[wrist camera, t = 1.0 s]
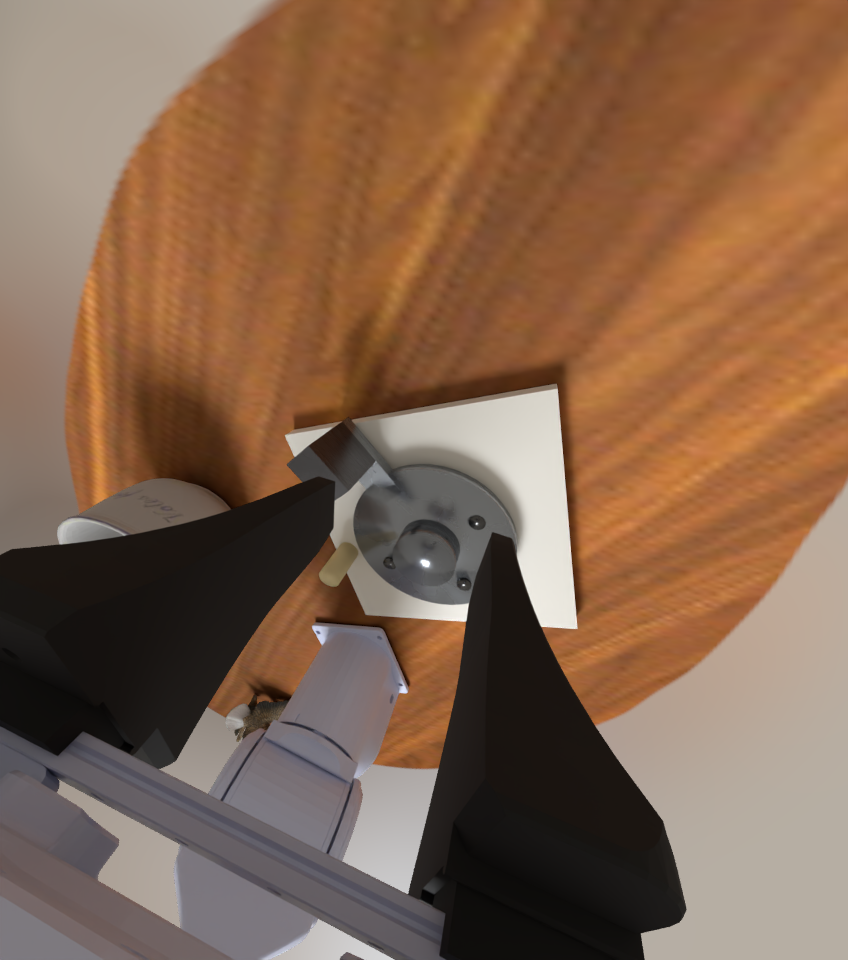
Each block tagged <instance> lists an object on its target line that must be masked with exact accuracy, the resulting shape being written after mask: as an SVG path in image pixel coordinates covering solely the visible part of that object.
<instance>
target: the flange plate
mask: <svg viewBox="0 0 848 960" xmlns="http://www.w3.org/2000/svg"><path fill="white" fill-rule="evenodd" d="M287 466H288V467H289V468H290V469H291V470H292V471H293V472H294V473H295V474H296V475H297V477H298V478H299V479H300V480H301V481H302V482H305V481H307V480H310V479H312V478H315V477H318V476H320V477H323V478H326V479H329V480H332V481H335V500H337V499H338V498H340V497H341V496H343V495H344V494H345V493H347V492H348V491H349V490H350V489H351V488H352V487H353V486H354V485H355V484H356V483H357V482H358V481H359V482H360V483H361V484H362V485H363V486H364V488H365V489H366V490H365V491H364V493H363V494H362V495H361V497H360V499H359V500H358V503H357V505H356V508H355V512H354V517H353V527H354V534H355V538H356V542H357V544H358V547H359V549H360V551H361V553H362V555H363V557H364V558H365V560H366V561H367V562H368V564H369V565H370V566H371V567H372V569H373V570H374V571H375V572H376V573H377V574H378V575H379V576H380V577H381V578H383V579H384V580H385V581H386V582H388V583H389V584H390V585H392V586H393V587H395V588H396V589H398V590H400V591H402V592H404V593H405V594H408V595H410V596H412V597H415V598H418V599H420V600H423V601H427V602H431V603H437V604H445V605H461V604H468V603H469V602H470V597H471V593H472V589H473V585H474V581H475V577H476V574H477V572H478V569H479V566H480V564H481V561H482V558H483V556H484V553H485V550H486V547H487V545H488V542H489V539H490V537H491V534H492V532H494V533H497V534H500V535H504V536H507V537H510V538H512V540H513V541H514V545H515V550H516V555H517V543H518V540H517V533H516V529H515V526H514V522H513V520H512V518H511V516H510V514H509V512H508V510H507V509H506V507H505V506H504V504H503V503H502V502H501V501H500V500H499V498H498V497H497V496H496V495H495V494H494V493H493V492H492V491H491V490H490V489H488V488H487V487H486V486H485V485H483V484H482V483H480V482H479V481H478V480H476V479H474V478H472V477H470V476H469V475H467V474H465V473H462V472H460V471H457V470H455V469H451V468H448V467H444V466H439V465H433V464H411V465H405V466H401V467H397V468H394V469H392V468H391V467H390V466H389V464H388V463H387V462H386V461H385V460H384V458H383V457H382V456H381V455H380V454H379V452H378V451H377V450H376V449H375V448H374V446H373V445H372V444H371V443H370V442H369V440H368V439H367V438H366V437H365V436H364V435H363V433H362V432H361V431H360V430H359V429H358V427H357V426H356V425H355V424H354V423H353V421H352V420H351V419H350V418H349V417H348V418H346V419H345V420H343V421H342V422H341V423H339V424H338V425H336V426H335V427H334V428H332V429H331V430H329V431H328V432H327V433H325V434H324V435H322V436H321V437H320V438H318V439H317V440H315V441H314V442H313V443H311V444H310V445H308V446H307V447H306V448H305V449H304V450H303V451H301V452H300V453H299V454H298V455H297V456H296V457H295V458H294V459H292V460H291V461H290V462H289V463H288V464H287Z"/></svg>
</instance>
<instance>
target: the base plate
mask: <svg viewBox="0 0 848 960" xmlns="http://www.w3.org/2000/svg"><path fill="white" fill-rule="evenodd" d="M352 421H353V423H354V424H355V425H356V426H357V427H358V429H359V430H360V431H361V432H362V433H363V435H364V436H365V437H366V438H367V439H368V440H369V442H370V443H371V444H372V445H373V446H374V448H375V449H376V450H377V451H378V452H379V454H380V455H381V456H382V457H383V458H384V460H385V461H386V462H387V463H388V464H389V466H390V467H391V468H392V469H394V468H397V467H401V466H405V465H411V464H433V465H439V466H444V467H448V468H451V469H455V470H457V471H460V472H462V473H465V474H467V475H469V476H470V477H472V478H474V479H476V480H478V481H479V482H480V483H482V484H483V485H485V486H486V487H487V488H488V489H490V490H491V491H492V492H493V493H494V494H495V495H496V496H497V497H498V498H499V500H500V501H501V502H502V503H503V504H504V506H505V507H506V509H507V510H508V512H509V514H510V516H511V518H512V520H513V522H514V526H515V529H516V533H517V540H518V543H517V559H518V563H519V566H520V570H521V573H522V576H523V580H524V583H525V586H526V589H527V592H528V594H529V597H530V600H531V603H532V605H533V608H534V611H535V613H536V616H537V618H538V620H539V623H540V625H541V627H556V628H571V629H577V619H576V606H575V594H574V582H573V570H572V558H571V546H570V533H569V521H568V509H567V497H566V485H565V472H564V460H563V448H562V436H561V424H560V412H559V399H558V388H557V384H551V385H546V386H540V387H534V388H529V389H523V390H517V391H512V392H506V393H500V394H495V395H489V396H483V397H478V398H472V399H466V400H460V401H455V402H449V403H443V404H438V405H432V406H426V407H421V408H415V409H409V410H404V411H398V412H392V413H387V414H381V415H375V416H369V417H364V418H358V419H352ZM341 422H342V421H341ZM341 422H335V423H330V424H324V425H318V426H313V427H307V428H301V429H296V430H293V431H291V432H289V433H288V434H286V435H285V437H286V439H287V441H288V443H289V446H290V448H291V450H292V452H293V455H294V457H296V456H297V455H298V454H299V453H300V452H301V451H303V450H304V449H305V448H306V447H307V446H308V445H310V444H311V443H313V442H314V441H315V440H317V439H318V438H320V437H321V436H322V435H324V434H325V433H327V432H328V431H329V430H331V429H332V428H334V427H335V426H336V425H338V424H339V423H341ZM365 490H366V489H365V488H364V486H363V485H362V484H361V483H360V482H359V481H358V482H357V483H356V484H355V485H354V486H353V487H352V488H351V489H350V490H349V491H348V492H347V493H345V494H344V495H343V496H341V497H340V498H338V499H337V500H335V505H334V528H333V530H332V531H331V533H330V537H331V539H332V541H333V543H334V545H335V548H336V551H335V552H334V554H333V555H332V556H331V558H330V559H329V560H328V562H327V563H326V564H325V566H324V567H323V568H322V570H321V571H320V572H319V577H320V579H321V581H322V582H323V583H325V584H326V585H328V586H331V587H336V586H338V585H339V583H340V582H341V580H342V579H343V577H344V576H345V574H346V573H347V574H348V576H349V579H350V581H351V583H352V585H353V588H354V590H355V592H356V594H357V596H358V599H359V601H360V603H361V605H362V607H363V610H364V612H365V614H366V615H373V616H388V617H404V618H419V619H434V620H449V621H465V622H466V620H467V613H468V606H469V603H468V604H461V605H445V604H437V603H431V602H427V601H423V600H420V599H418V598H415V597H412V596H410V595H408V594H405V593H404V592H402V591H400V590H398V589H396V588H395V587H393V586H392V585H390V584H389V583H388V582H386V581H385V580H384V579H383V578H381V577H380V576H379V575H378V574H377V573H376V572H375V571H374V570H373V569H372V567H371V566H370V565H369V564H368V562H367V561H366V560H365V558H364V557H363V555H362V553H361V551H360V549H359V547H358V544H357V542H356V538H355V534H354V527H353V517H354V512H355V508H356V505H357V503H358V500H359V499H360V497H361V495H362V494H363V493H364V491H365Z"/></svg>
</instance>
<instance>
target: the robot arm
mask: <svg viewBox="0 0 848 960" xmlns="http://www.w3.org/2000/svg"><path fill="white" fill-rule="evenodd" d="M334 505H335V481H332V480H329V479H326V478H323V477H320V476H318V477H315V478H312V479H310V480H307V481H305V482H302V483H300V484H297V485H295V486H292V487H290V488H287V489H285V490H282V491H280V492H277V493H275V494H272V495H270V496H267V497H265V498H262V499H260V500H257V501H254V502H251V503H248V504H245V505H243V506H240V507H237V508H234V509H231V510H228V511H225V512H222V513H219V514H216V515H213V516H209V517H206V518H202V519H198V520H195V521H191V522H187V523H183V524H179V525H175V526H170V527H165V528H161V529H156V530H151V531H147V532H142V533H137V534H131V535H125V536H119V537H114V538H107V539H100V540H93V541H86V542H78V543H70V544H60V545H51V546H41V547H31V548H20V549H12V550H9V551H7V552H5V553H3V554H1V555H0V960H270V959H272V958H274V957H276V956H278V955H280V954H282V953H283V952H285V951H287V950H289V949H291V948H293V947H295V946H296V945H298V944H299V943H301V942H302V941H303V940H304V939H305V937H306V936H307V934H308V933H309V931H310V929H312V928H313V927H314V925H315V924H316V922H317V920H318V919H320V920H322V921H324V922H326V923H328V924H330V925H331V926H333V927H335V928H337V929H339V930H341V931H343V932H344V933H346V934H348V935H350V936H352V937H354V938H356V939H358V940H359V941H361V942H363V943H365V944H367V945H369V946H371V947H373V948H375V949H376V950H378V951H380V952H382V953H384V954H386V955H387V956H389V957H391V958H393V959H395V960H645V959H644V953H643V946H642V941H641V940H642V939H641V933H644V932H648V931H653V930H657V929H661V928H666V927H670V926H672V925H675V924H677V923H679V922H680V921H681V920H682V918H683V917H684V914H685V912H686V905H685V900H684V896H683V892H682V888H681V884H680V879H679V875H678V870H677V867H676V863H675V859H674V855H673V852H672V849H671V846H670V843H669V840H668V837H667V834H666V830H665V827H664V823H663V820H662V819H661V818H660V816H659V815H658V814H657V812H656V811H655V810H654V808H653V807H652V806H651V804H650V803H649V802H648V800H647V799H646V797H645V796H644V795H643V793H642V792H641V791H640V789H639V788H638V787H637V785H636V784H635V783H634V781H633V780H632V778H631V777H630V776H629V774H628V773H627V772H626V770H625V769H624V768H623V766H622V765H621V764H620V762H619V761H618V759H617V758H616V756H615V755H614V754H613V752H612V751H611V749H610V748H609V746H608V745H607V743H606V742H605V740H604V739H603V737H602V736H601V734H600V733H599V731H598V730H597V728H596V727H595V725H594V723H593V722H592V720H591V718H590V717H589V715H588V713H587V712H586V710H585V709H584V707H583V705H582V704H581V702H580V700H579V699H578V697H577V695H576V694H575V692H574V690H573V689H572V687H571V685H570V684H569V682H568V680H567V678H566V676H565V674H564V673H563V671H562V669H561V667H560V665H559V663H558V661H557V659H556V657H555V655H554V653H553V651H552V649H551V647H550V645H549V643H548V641H547V639H546V637H545V634H544V632H543V630H542V628H541V625H540V623H539V620H538V618H537V616H536V613H535V611H534V608H533V605H532V603H531V600H530V597H529V594H528V592H527V589H526V586H525V583H524V580H523V576H522V573H521V570H520V566H519V563H518V559H517V555H516V550H515V545H514V541H513V540H512V538H510V537H507V536H504V535H500V534H497V533H494V532H492V534H491V537H490V539H489V542H488V545H487V547H486V550H485V553H484V556H483V558H482V561H481V564H480V566H479V569H478V572H477V574H476V577H475V581H474V585H473V589H472V593H471V597H470V602H469V606H468V613H467V620H466V628H465V635H464V643H463V650H462V658H461V665H460V673H459V679H458V685H457V691H456V695H455V700H454V704H453V709H452V713H451V717H450V722H449V726H448V731H447V735H446V739H445V744H444V748H443V752H442V756H441V761H440V765H439V769H438V773H437V778H436V782H435V786H434V791H433V794H432V799H431V803H430V807H429V811H428V815H427V819H426V824H425V828H424V831H423V836H422V840H421V844H420V848H419V852H418V856H417V860H416V864H415V868H414V872H413V876H412V880H411V884H410V888H409V893H408V894H406V893H404V892H402V891H400V890H398V889H396V888H394V887H392V886H390V885H388V884H386V883H384V882H382V881H380V880H378V879H376V878H374V877H371V876H370V875H368V874H366V873H364V872H362V871H360V870H358V869H356V868H354V867H352V866H350V865H348V864H346V863H344V862H342V860H343V857H344V855H345V852H346V850H347V847H348V844H349V841H350V839H351V835H352V833H353V830H354V827H355V823H356V821H357V817H358V814H359V810H360V806H361V802H362V796H363V794H362V790H361V783H360V781H359V780H358V779H356V778H357V777H359V776H361V775H362V774H363V773H364V772H365V771H366V770H367V769H368V768H369V767H370V766H371V765H372V763H373V762H374V760H375V759H376V757H377V755H378V753H379V750H380V747H381V745H382V742H383V739H384V736H385V733H386V730H387V727H388V724H389V721H390V718H391V715H392V712H393V709H394V706H395V703H396V700H397V698H398V695H399V693H407V692H408V690H409V688H408V685H407V683H406V681H405V678H404V676H403V674H402V671H401V669H400V667H399V665H398V662H397V660H396V658H395V655H394V653H393V651H392V648H391V646H390V644H389V641H388V639H387V637H386V634H385V632H384V630H383V629H381V628H379V627H367V626H354V625H342V624H329V623H314V624H313V626H312V628H313V630H314V632H315V634H316V635H317V637H318V639H319V641H320V643H321V644H322V647H321V648H320V650H319V652H318V653H317V655H316V657H315V659H314V660H313V662H312V664H311V665H310V667H309V669H308V670H307V672H306V674H305V675H304V677H303V679H302V680H301V682H300V684H299V685H298V687H297V689H296V690H295V692H294V694H293V695H292V697H291V699H290V701H289V702H288V704H287V706H286V707H285V709H284V711H283V712H282V714H281V716H280V717H279V719H278V721H277V720H273V721H272V723H271V725H270V726H269V728H268V730H267V731H266V730H264V729H262V728H259V729H257V730H256V731H254V732H252V733H250V734H248V735H247V736H246V737H245V738H244V739H243V740H242V742H241V743H240V744H239V746H238V747H237V748H236V750H235V751H234V753H233V754H232V755H231V757H230V758H229V760H228V761H227V763H226V764H225V766H224V767H223V769H222V771H221V772H220V774H219V776H218V777H217V779H216V781H215V782H214V784H213V786H212V787H211V789H210V791H209V793H208V794H207V793H205V792H203V791H201V790H199V789H197V788H195V787H193V786H191V785H189V784H187V783H185V782H183V781H181V780H179V779H177V778H175V777H173V776H171V775H169V774H167V773H165V772H163V771H161V770H159V769H161V768H163V767H165V766H168V765H170V764H171V763H173V762H175V761H176V760H177V758H178V756H179V754H180V753H181V751H182V749H183V747H184V745H185V744H186V742H187V740H188V739H189V736H190V735H191V733H192V732H193V729H194V728H195V726H196V724H197V723H198V721H199V720H200V718H201V716H202V714H203V713H204V711H205V709H206V707H207V706H208V704H209V703H210V701H211V699H212V698H213V696H214V695H215V693H216V691H217V690H218V688H219V686H220V685H221V683H222V682H223V680H224V678H225V677H226V675H227V673H228V672H229V670H230V669H231V667H232V666H233V664H234V663H235V661H236V660H237V658H238V656H239V655H240V653H241V652H242V650H243V649H244V647H245V646H246V644H247V643H248V641H249V640H250V638H251V637H252V635H253V634H254V632H255V631H256V630H257V628H258V627H259V625H260V624H261V622H262V621H263V619H264V618H265V616H266V615H267V614H268V612H269V611H270V610H271V609H272V607H273V606H274V605H275V603H276V602H277V601H278V600H279V599H280V597H281V596H282V595H283V594H284V593H285V592H286V590H287V589H288V588H289V587H290V586H291V584H292V583H293V582H294V581H295V580H296V578H297V577H298V576H299V575H300V574H301V573H302V571H303V570H304V569H305V568H306V567H307V565H308V564H309V563H310V562H311V560H312V559H313V558H314V557H315V556H316V554H317V553H318V552H319V550H320V549H321V547H322V546H323V544H324V543H325V541H326V540H327V538H328V536H329V535H330V533H331V531H332V530H333V528H334ZM58 779H59V780H61V781H63V782H65V783H66V784H68V785H70V786H72V787H74V788H76V789H78V790H79V791H81V792H83V793H85V794H87V795H89V796H91V797H93V798H94V799H96V800H98V801H100V802H102V803H104V804H106V805H107V806H109V807H111V808H113V809H115V810H117V811H119V812H121V813H122V814H124V815H126V816H128V817H130V818H132V819H134V820H135V821H137V822H139V823H141V824H143V825H145V826H147V827H149V828H150V829H152V830H154V831H156V832H158V833H160V834H162V835H163V836H165V837H167V838H169V839H171V840H173V841H175V842H177V843H178V844H180V847H179V851H178V855H177V858H176V861H175V866H174V881H175V888H176V895H177V904H178V911H179V918H180V927H181V928H179V927H177V926H175V925H174V924H172V923H170V922H168V921H167V920H165V919H163V918H162V917H160V916H158V915H156V914H155V913H153V912H151V911H149V910H147V909H146V908H144V907H143V906H141V905H139V904H137V903H136V902H134V901H132V900H130V899H129V898H127V897H125V896H124V895H122V894H120V893H118V892H116V891H115V890H113V889H111V888H110V887H108V886H106V885H105V884H103V883H101V882H99V881H98V874H99V871H100V870H101V868H102V867H103V866H104V864H105V863H106V862H107V860H108V859H109V858H110V856H111V855H112V854H113V852H114V851H115V850H116V848H117V847H118V845H119V839H118V838H116V837H115V836H114V835H112V834H111V833H109V832H108V831H107V830H105V829H104V828H102V827H101V826H100V825H99V824H98V823H96V822H95V821H94V820H93V819H91V818H90V817H89V816H88V815H87V814H86V813H85V812H84V810H83V809H82V808H80V807H78V806H77V805H75V804H74V803H72V802H70V801H69V800H67V799H66V798H64V797H62V796H61V795H59V794H58V793H57V791H58V789H59V780H58ZM340 960H364V959H361V958H359V957H357V956H355V955H352V954H350V953H348V952H346V953H345V954H344V955H343V956H341V958H340Z"/></svg>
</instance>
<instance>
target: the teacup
mask: <svg viewBox="0 0 848 960" xmlns="http://www.w3.org/2000/svg"><path fill="white" fill-rule="evenodd" d="M228 510H231V508H230V507H229V506H228V505H227V504H226V503H225V502H224V501H223V500H222V499H221V498H220V497H218V496H217V495H216V494H214V493H213V492H211V491H210V490H208V489H206V488H204V487H201V486H199V485H196V484H192V483H187V482H184V481H180V480H176V479H170V478H158V479H151V480H146V481H143V482H140V483H138V484H135V485H133V486H131V487H128V488H126V489H124V490H122V491H120V492H118V493H117V494H115V495H113V496H111V497H109V498H107V499H105V500H103V501H101V502H100V503H98V504H96V505H94V506H93V507H91V508H89V509H87V510H86V511H84V512H82V513H80V514H79V515H76V516H72V517H69V518H67V519H66V520H64V521H63V522H62V523H61V524H60V525H59V527H58V531H57V535H58V539H59V543H60V544H70V543H78V542H86V541H93V540H100V539H107V538H114V537H119V536H125V535H131V534H137V533H142V532H147V531H151V530H156V529H161V528H165V527H170V526H175V525H179V524H183V523H187V522H191V521H195V520H198V519H202V518H206V517H209V516H213V515H216V514H219V513H222V512H225V511H228Z"/></svg>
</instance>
